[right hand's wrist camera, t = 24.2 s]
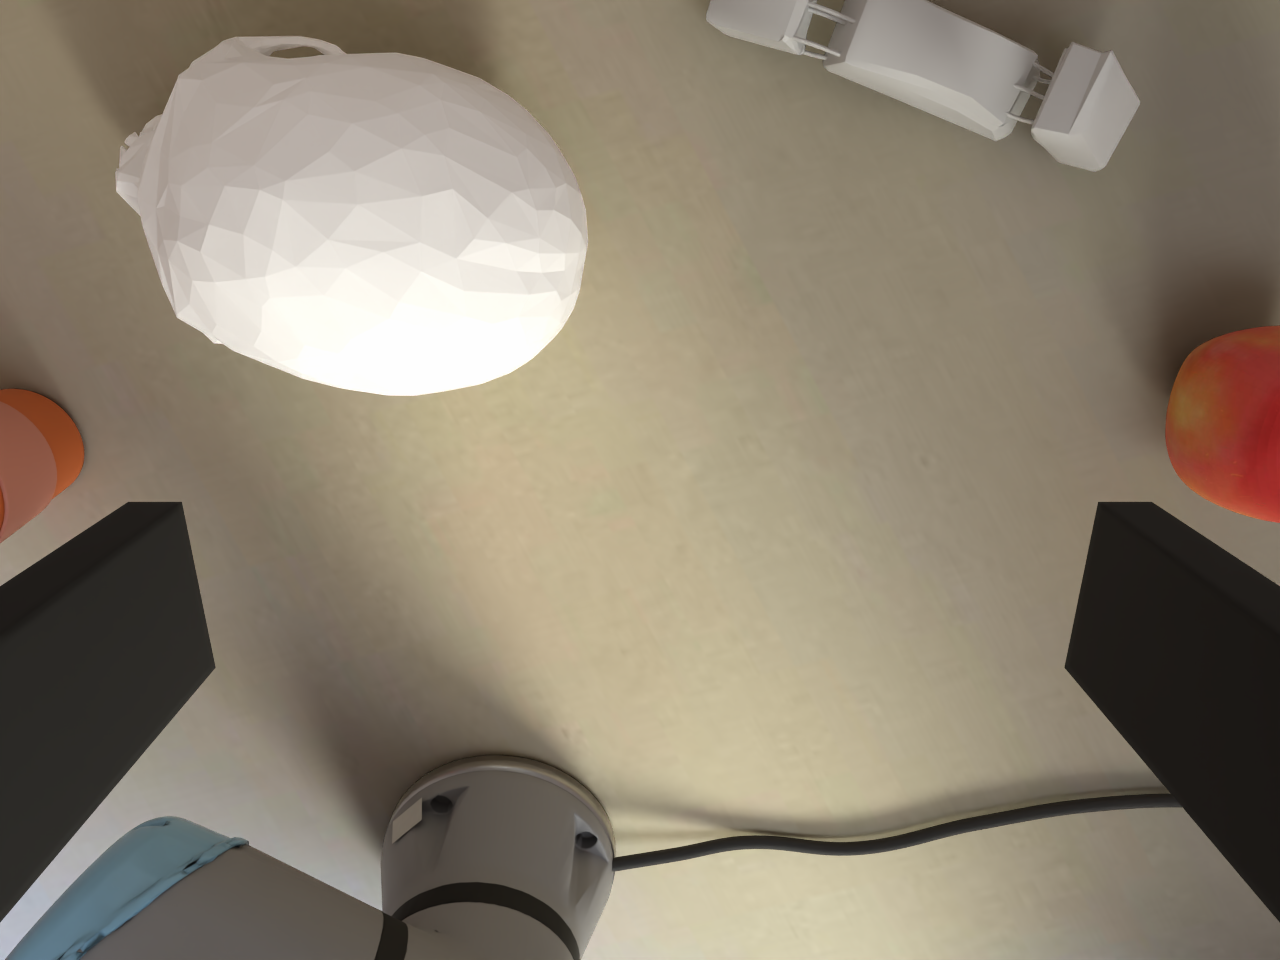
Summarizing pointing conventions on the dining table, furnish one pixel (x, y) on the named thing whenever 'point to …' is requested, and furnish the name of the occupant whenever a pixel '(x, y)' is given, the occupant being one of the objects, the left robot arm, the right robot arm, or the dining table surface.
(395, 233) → the skull
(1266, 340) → the apple
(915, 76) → the white segmented model
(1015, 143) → the dining table surface
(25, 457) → the cup with straw
